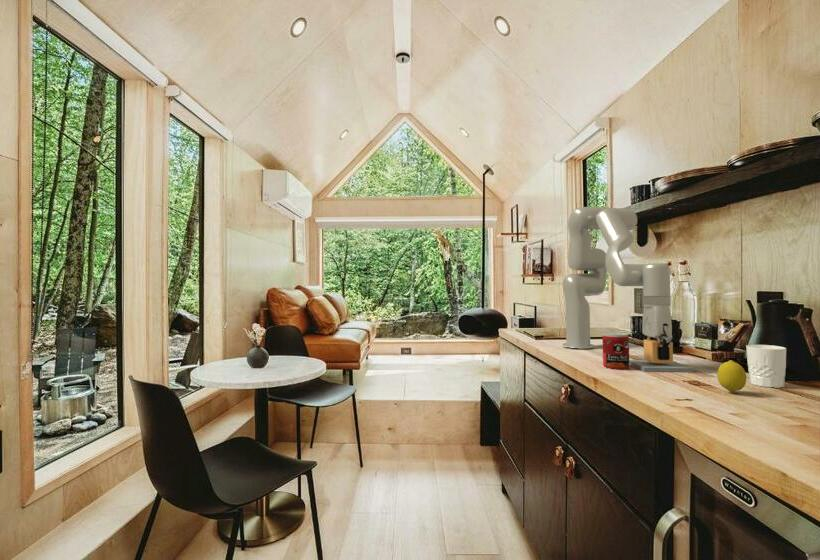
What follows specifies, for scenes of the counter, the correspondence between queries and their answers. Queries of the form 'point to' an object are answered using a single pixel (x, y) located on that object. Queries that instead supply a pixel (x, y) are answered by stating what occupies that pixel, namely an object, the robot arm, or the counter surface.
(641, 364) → the stub board
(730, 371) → the lemon
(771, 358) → the white cup
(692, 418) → the counter surface
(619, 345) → the canned food
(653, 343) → the tan block
